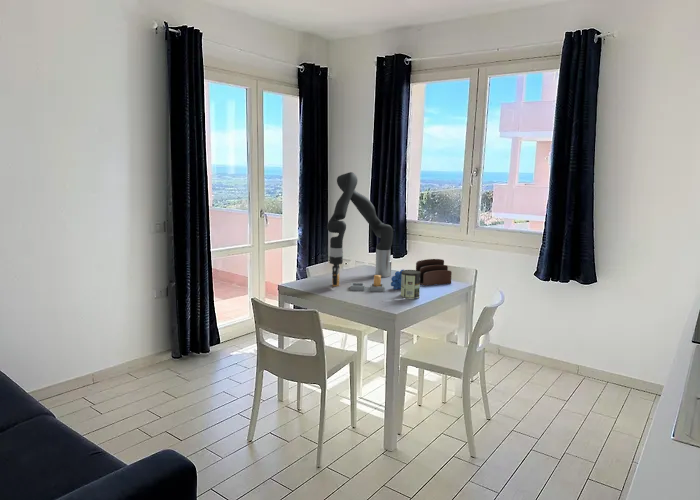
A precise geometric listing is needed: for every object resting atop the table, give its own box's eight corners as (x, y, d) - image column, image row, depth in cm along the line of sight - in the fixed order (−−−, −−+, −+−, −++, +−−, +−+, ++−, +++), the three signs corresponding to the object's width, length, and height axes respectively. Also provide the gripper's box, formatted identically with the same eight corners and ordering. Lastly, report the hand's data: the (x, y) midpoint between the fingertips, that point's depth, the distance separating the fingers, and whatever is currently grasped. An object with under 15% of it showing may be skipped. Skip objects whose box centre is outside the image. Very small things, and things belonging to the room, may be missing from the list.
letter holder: (414, 282, 313) (415, 259, 311) (442, 279, 321) (443, 257, 318) (423, 286, 304) (424, 262, 302) (451, 283, 312) (452, 260, 309)
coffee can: (414, 293, 285) (415, 269, 283) (422, 298, 275) (423, 273, 273) (397, 294, 282) (398, 269, 280) (404, 299, 272) (405, 274, 270)
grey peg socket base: (384, 289, 294) (385, 283, 293) (384, 294, 283) (385, 287, 283) (350, 287, 295) (350, 281, 295) (348, 292, 284) (349, 286, 284)
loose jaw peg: (336, 286, 298) (337, 272, 297) (340, 287, 295) (340, 274, 294) (330, 286, 296) (331, 273, 295) (334, 288, 293) (334, 274, 292)
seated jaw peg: (377, 288, 291) (378, 274, 290) (381, 289, 288) (382, 276, 287) (372, 289, 289) (372, 275, 288) (376, 290, 286) (376, 276, 285)
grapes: (405, 287, 298) (406, 267, 296) (410, 290, 292) (411, 270, 290) (387, 288, 295) (388, 268, 293) (392, 291, 288) (393, 271, 286)
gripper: (330, 252, 300) (330, 279, 302) (328, 257, 286) (327, 285, 288) (343, 253, 299) (343, 280, 302) (341, 257, 285) (341, 286, 288)
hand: (335, 283), depth 295 cm, fingers open, 7 cm apart
